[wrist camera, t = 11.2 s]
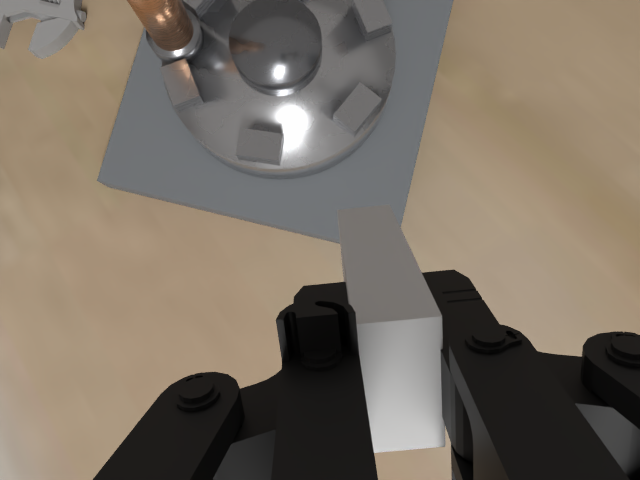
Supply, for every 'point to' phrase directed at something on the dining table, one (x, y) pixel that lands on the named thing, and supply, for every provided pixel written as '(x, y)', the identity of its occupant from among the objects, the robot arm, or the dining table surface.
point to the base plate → (286, 194)
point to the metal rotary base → (274, 77)
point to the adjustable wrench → (43, 22)
